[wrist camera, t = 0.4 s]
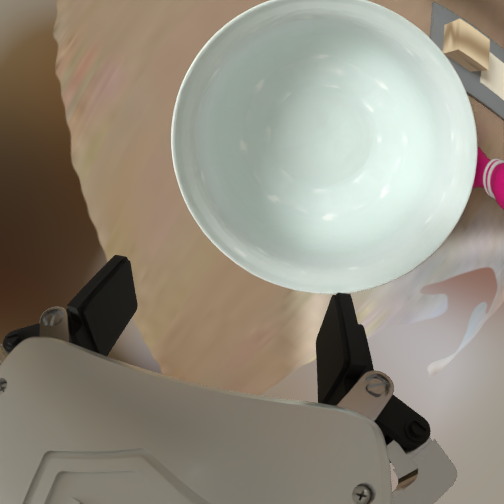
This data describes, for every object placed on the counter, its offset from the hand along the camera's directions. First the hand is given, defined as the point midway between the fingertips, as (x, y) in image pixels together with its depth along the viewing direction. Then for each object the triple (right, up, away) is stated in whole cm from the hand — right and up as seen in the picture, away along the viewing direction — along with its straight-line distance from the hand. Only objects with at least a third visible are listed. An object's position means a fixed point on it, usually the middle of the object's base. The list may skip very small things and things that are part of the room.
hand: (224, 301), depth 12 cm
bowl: (+11, +18, +23) cm, 32 cm away
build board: (+40, +32, +11) cm, 53 cm away
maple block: (+33, +33, +10) cm, 48 cm away
